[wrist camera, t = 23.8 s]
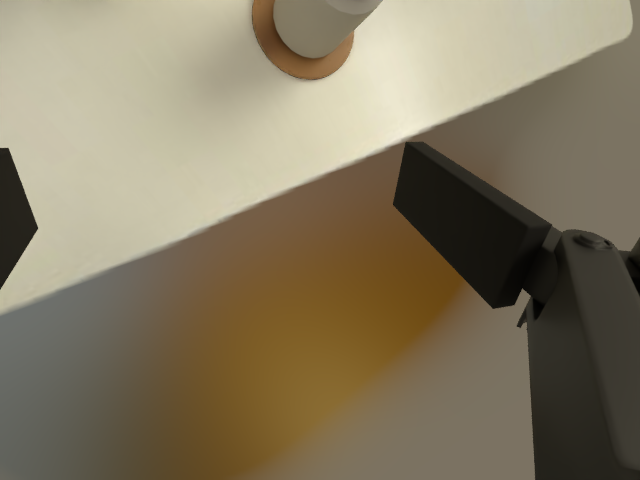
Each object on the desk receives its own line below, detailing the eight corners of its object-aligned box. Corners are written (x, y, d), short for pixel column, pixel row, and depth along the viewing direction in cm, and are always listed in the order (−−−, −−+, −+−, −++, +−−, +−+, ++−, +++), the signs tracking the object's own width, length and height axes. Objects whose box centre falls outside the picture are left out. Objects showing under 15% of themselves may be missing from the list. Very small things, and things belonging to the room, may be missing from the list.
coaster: (228, 6, 37) (229, 3, 36) (308, -54, 39) (310, -57, 38) (300, 100, 40) (302, 99, 39) (370, 41, 42) (372, 39, 42)
